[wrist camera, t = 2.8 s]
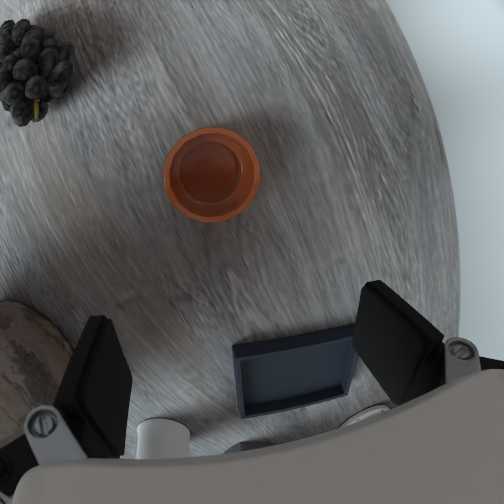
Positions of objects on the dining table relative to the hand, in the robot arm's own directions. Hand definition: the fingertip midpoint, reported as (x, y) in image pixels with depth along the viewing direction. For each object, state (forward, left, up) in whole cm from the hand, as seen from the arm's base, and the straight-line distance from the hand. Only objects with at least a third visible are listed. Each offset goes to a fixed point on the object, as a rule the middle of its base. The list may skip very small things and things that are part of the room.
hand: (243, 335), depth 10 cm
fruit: (+17, -18, -19) cm, 31 cm away
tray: (-9, +22, -19) cm, 30 cm away
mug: (+13, +34, -19) cm, 41 cm away
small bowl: (0, -4, -19) cm, 19 cm away
